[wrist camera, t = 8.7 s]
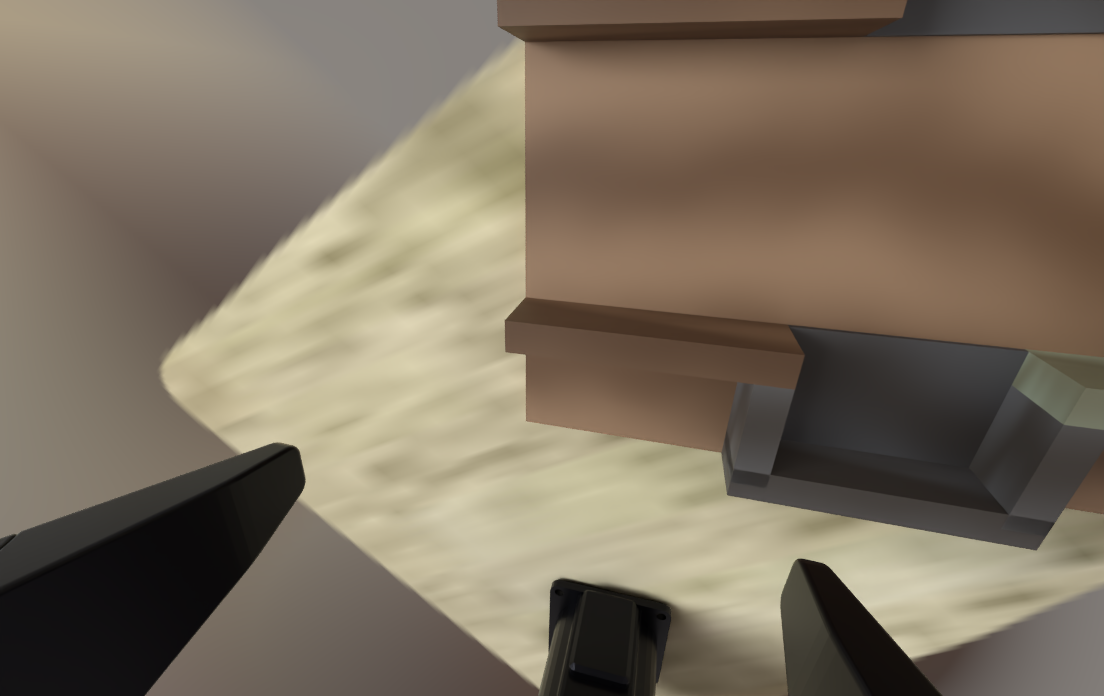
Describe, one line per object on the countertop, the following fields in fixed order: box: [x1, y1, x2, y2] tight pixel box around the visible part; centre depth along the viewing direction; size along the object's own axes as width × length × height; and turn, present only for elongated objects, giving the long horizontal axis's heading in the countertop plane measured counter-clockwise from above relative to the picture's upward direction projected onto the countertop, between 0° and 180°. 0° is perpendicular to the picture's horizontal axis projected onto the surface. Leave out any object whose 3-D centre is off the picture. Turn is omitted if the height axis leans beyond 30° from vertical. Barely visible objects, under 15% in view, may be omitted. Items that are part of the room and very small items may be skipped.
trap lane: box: [497, 0, 1104, 550], centre depth 13 cm, size 20×26×4 cm
